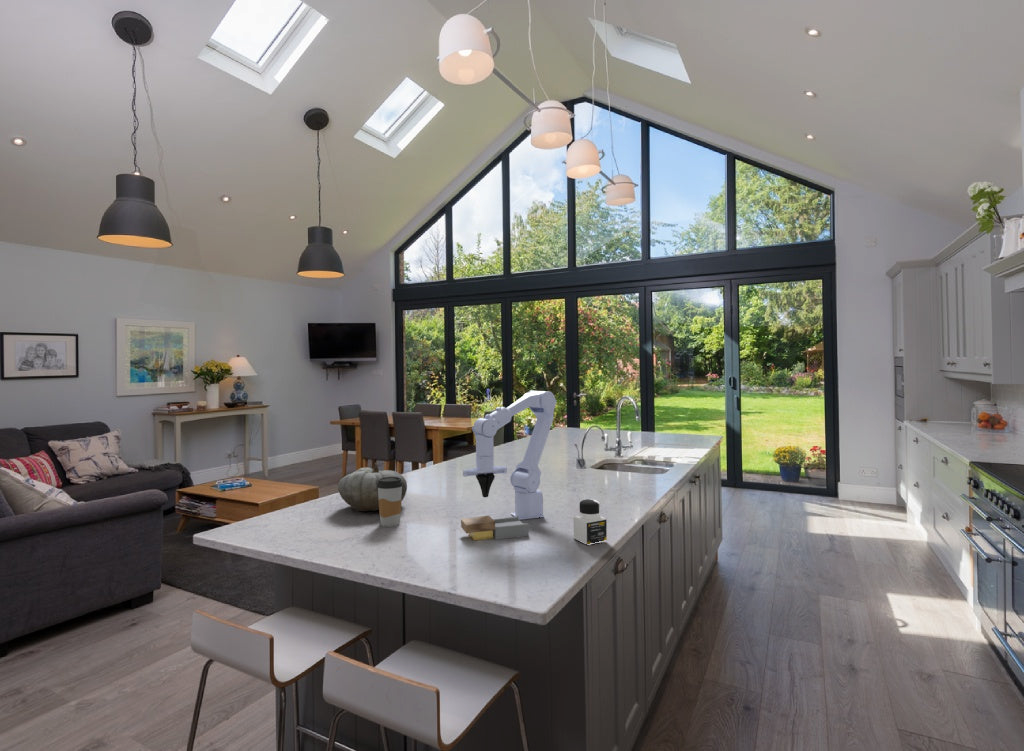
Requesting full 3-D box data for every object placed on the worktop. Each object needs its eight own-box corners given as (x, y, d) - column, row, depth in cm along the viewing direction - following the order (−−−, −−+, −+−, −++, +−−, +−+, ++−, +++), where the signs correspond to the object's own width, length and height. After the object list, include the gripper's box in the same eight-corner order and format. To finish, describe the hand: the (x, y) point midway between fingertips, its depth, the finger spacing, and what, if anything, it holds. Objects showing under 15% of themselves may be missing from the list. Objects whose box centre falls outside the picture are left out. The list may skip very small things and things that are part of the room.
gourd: (339, 513, 186) (343, 461, 189) (332, 508, 209) (336, 462, 212) (412, 513, 196) (415, 463, 199) (398, 508, 218) (401, 464, 221)
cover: (489, 523, 173) (488, 515, 173) (495, 529, 167) (494, 521, 166) (461, 526, 171) (460, 518, 170) (466, 533, 164) (465, 525, 164)
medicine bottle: (587, 546, 158) (586, 504, 158) (573, 539, 165) (572, 499, 165) (607, 542, 162) (606, 501, 161) (592, 535, 168) (592, 496, 168)
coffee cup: (408, 522, 185) (407, 477, 184) (392, 529, 177) (392, 482, 177) (388, 519, 188) (387, 475, 188) (372, 526, 181) (371, 480, 180)
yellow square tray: (487, 532, 172) (487, 525, 172) (493, 538, 166) (493, 530, 166) (468, 534, 170) (468, 527, 170) (474, 540, 164) (473, 532, 164)
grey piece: (518, 527, 177) (518, 516, 177) (528, 535, 169) (528, 523, 169) (487, 531, 174) (487, 519, 174) (496, 539, 165) (496, 527, 165)
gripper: (501, 452, 186) (502, 492, 186) (460, 454, 181) (460, 495, 181) (508, 455, 180) (509, 496, 180) (465, 458, 175) (466, 500, 175)
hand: (485, 496), depth 180 cm, fingers closed
